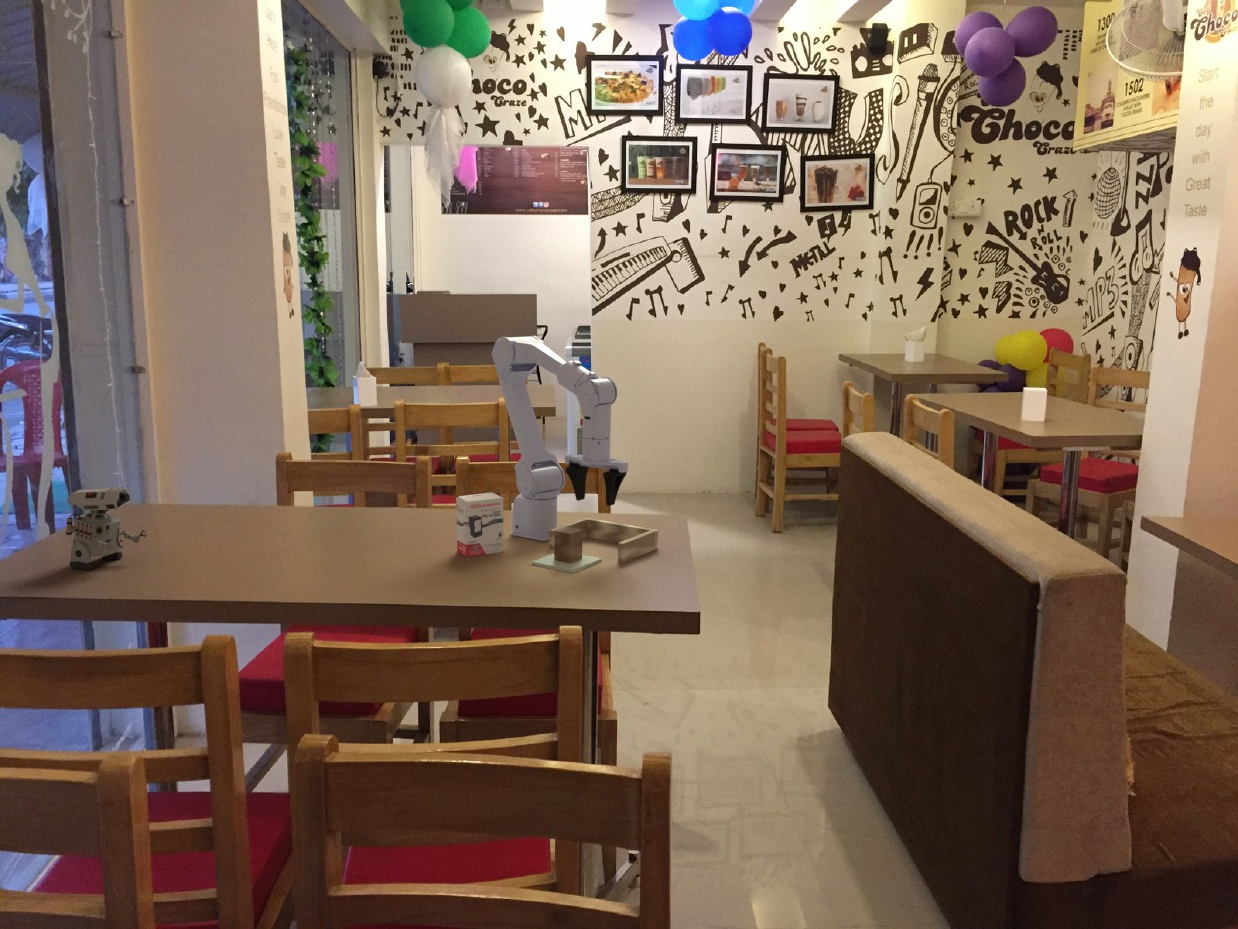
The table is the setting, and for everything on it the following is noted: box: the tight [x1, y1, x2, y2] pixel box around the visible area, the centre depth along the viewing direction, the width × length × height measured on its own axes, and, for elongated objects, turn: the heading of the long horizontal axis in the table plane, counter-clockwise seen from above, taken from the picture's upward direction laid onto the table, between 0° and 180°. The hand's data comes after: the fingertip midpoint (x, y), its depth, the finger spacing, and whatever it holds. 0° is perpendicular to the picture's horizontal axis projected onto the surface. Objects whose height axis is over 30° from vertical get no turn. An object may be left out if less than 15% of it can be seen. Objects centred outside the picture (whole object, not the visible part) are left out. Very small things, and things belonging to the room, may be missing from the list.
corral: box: [548, 517, 659, 564], centre depth 210 cm, size 18×14×4 cm
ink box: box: [455, 492, 504, 558], centre depth 205 cm, size 8×5×12 cm, turn 123°
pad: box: [531, 552, 603, 574], centre depth 200 cm, size 10×10×1 cm
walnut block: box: [553, 527, 583, 563], centre depth 199 cm, size 4×4×6 cm
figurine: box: [65, 487, 147, 571], centre depth 192 cm, size 9×12×15 cm
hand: (595, 502), depth 207 cm, fingers open, 7 cm apart
